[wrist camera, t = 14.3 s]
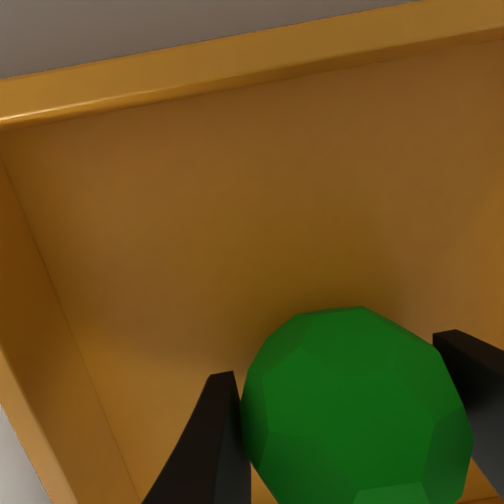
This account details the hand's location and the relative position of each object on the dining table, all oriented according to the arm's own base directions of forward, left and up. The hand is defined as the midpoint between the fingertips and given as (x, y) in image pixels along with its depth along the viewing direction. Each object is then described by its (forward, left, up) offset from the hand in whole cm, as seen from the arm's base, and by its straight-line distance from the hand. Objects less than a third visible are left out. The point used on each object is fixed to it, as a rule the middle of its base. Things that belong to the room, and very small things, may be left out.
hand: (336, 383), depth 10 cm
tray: (0, 0, -2) cm, 2 cm away
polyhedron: (0, 0, -2) cm, 2 cm away
